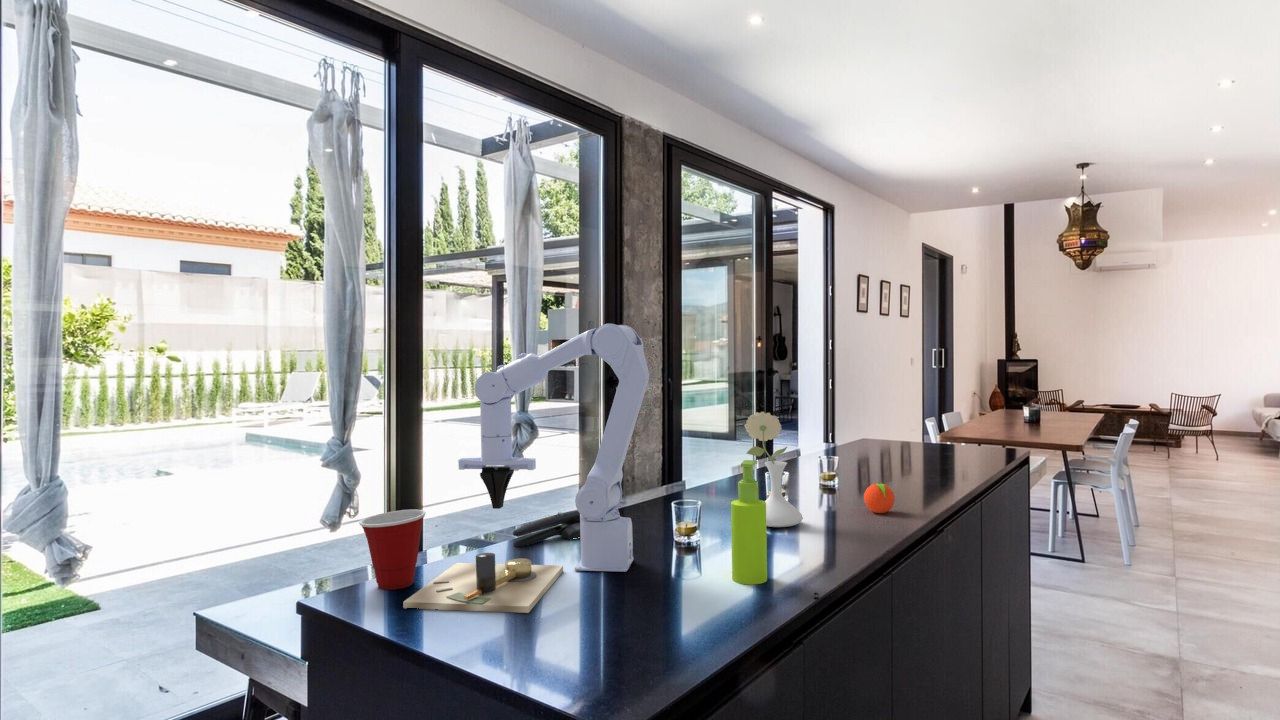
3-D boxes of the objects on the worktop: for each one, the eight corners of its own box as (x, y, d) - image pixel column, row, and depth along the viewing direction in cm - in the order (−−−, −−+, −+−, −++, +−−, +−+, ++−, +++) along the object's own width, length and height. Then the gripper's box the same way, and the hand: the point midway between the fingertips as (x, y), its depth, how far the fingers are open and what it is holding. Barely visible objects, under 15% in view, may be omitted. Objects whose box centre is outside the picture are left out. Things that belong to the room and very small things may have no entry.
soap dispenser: (770, 573, 129) (769, 458, 129) (764, 585, 123) (762, 465, 123) (737, 570, 131) (735, 457, 131) (728, 582, 125) (727, 463, 125)
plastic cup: (375, 575, 133) (373, 507, 132) (435, 574, 132) (434, 507, 132) (349, 595, 122) (347, 522, 122) (415, 594, 121) (413, 521, 121)
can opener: (578, 531, 163) (578, 505, 163) (596, 537, 158) (595, 510, 158) (504, 544, 153) (504, 517, 153) (520, 552, 147) (520, 523, 147)
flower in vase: (810, 522, 166) (808, 410, 166) (791, 533, 157) (790, 415, 156) (756, 516, 173) (754, 408, 173) (735, 526, 164) (733, 413, 163)
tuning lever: (515, 568, 130) (514, 537, 130) (536, 571, 128) (535, 539, 128) (454, 597, 115) (453, 562, 115) (477, 601, 113) (476, 565, 113)
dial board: (563, 571, 133) (563, 564, 133) (528, 612, 112) (528, 604, 112) (456, 568, 136) (456, 561, 136) (403, 608, 115) (403, 600, 115)
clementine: (900, 517, 170) (900, 486, 170) (870, 517, 170) (869, 486, 170) (889, 509, 178) (889, 479, 178) (860, 509, 178) (860, 480, 178)
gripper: (539, 433, 143) (541, 503, 144) (467, 433, 146) (469, 502, 146) (528, 437, 137) (530, 511, 137) (453, 437, 139) (455, 510, 139)
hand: (497, 507), depth 141 cm, fingers closed
